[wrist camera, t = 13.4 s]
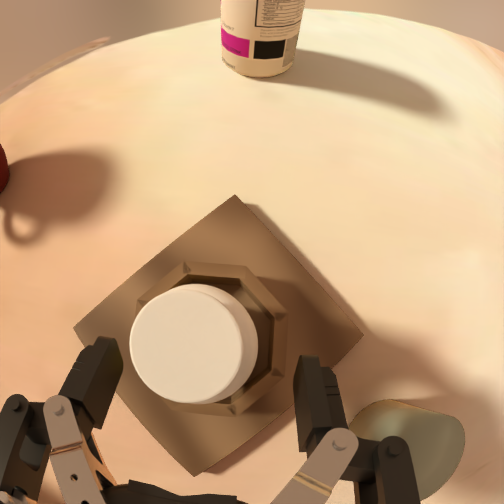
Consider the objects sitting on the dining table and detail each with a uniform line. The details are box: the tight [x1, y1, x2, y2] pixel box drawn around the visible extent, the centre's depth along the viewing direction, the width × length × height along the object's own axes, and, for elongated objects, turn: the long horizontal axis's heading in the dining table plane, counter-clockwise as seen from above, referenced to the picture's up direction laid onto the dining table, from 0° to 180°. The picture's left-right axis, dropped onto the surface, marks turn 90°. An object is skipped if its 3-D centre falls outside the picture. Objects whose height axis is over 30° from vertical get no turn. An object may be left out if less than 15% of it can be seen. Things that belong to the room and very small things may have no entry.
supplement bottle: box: [130, 284, 258, 404], centre depth 14 cm, size 5×5×10 cm
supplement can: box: [221, 0, 305, 78], centre depth 21 cm, size 8×8×15 cm
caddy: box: [73, 195, 364, 477], centre depth 18 cm, size 16×14×4 cm
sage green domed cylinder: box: [348, 399, 465, 501], centre depth 14 cm, size 6×6×7 cm
